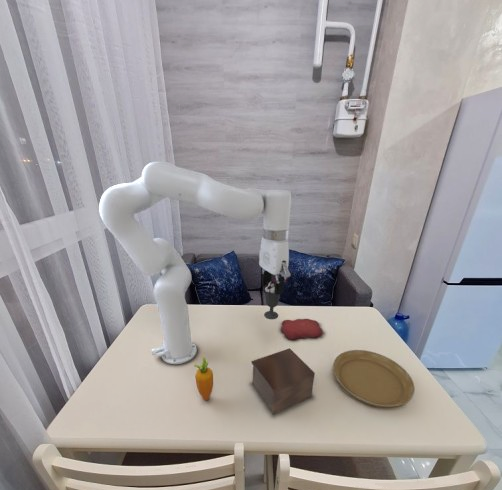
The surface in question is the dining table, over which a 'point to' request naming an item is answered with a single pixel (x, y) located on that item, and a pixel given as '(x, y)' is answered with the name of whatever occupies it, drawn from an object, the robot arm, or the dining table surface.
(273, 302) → the sundae
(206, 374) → the carrot
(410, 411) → the dining table surface
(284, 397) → the container
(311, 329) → the patty
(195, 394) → the dining table surface
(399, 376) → the plant saucer
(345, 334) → the dining table surface
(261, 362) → the brown box lid
